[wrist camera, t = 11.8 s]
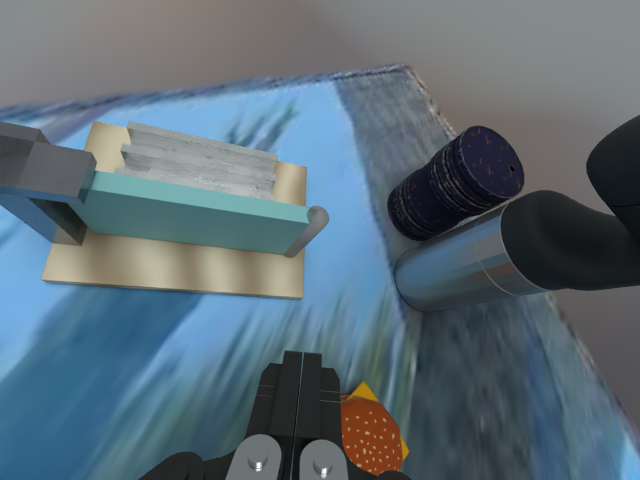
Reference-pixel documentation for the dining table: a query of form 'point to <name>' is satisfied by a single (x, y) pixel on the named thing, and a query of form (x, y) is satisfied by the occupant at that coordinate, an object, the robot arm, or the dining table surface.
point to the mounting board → (177, 247)
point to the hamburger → (370, 433)
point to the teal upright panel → (196, 215)
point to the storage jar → (457, 184)
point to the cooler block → (140, 161)
